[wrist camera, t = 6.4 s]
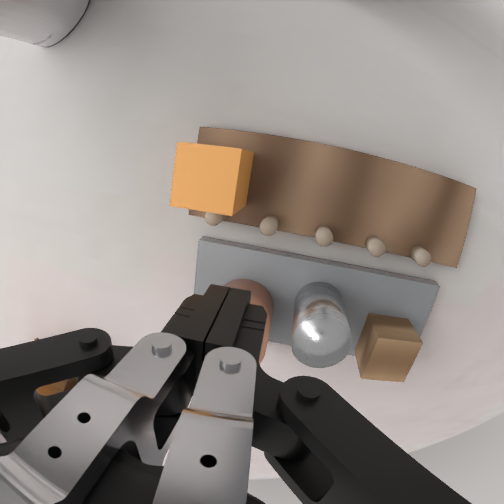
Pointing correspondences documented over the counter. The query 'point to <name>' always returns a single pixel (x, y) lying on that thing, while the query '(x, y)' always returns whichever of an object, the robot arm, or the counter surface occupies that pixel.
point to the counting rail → (348, 198)
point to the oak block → (386, 348)
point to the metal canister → (320, 326)
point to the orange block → (211, 178)
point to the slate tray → (308, 271)
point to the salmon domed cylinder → (257, 298)
